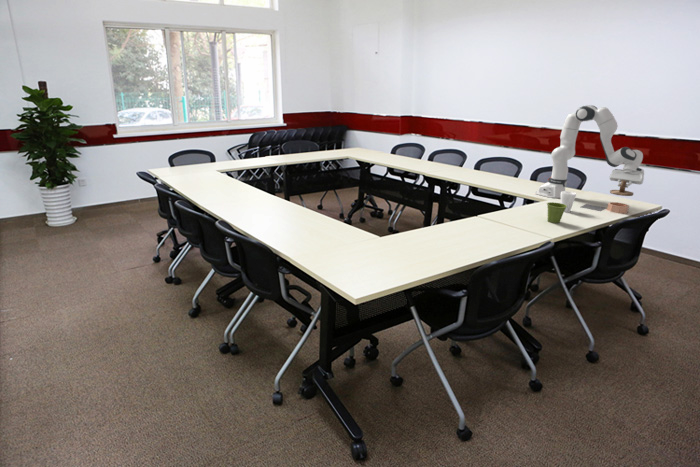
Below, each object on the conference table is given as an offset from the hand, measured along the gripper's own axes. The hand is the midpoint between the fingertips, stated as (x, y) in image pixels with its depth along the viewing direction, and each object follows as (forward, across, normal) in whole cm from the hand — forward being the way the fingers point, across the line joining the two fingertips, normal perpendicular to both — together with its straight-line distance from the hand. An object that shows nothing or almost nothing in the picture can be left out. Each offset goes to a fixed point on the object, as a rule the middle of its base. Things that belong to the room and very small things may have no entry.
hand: (622, 186), depth 305 cm
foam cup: (+33, -25, -7) cm, 42 cm away
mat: (+15, -15, +10) cm, 23 cm away
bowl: (+12, 0, +13) cm, 18 cm away
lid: (+3, 0, +4) cm, 5 cm away
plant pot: (+56, -20, -31) cm, 67 cm away
